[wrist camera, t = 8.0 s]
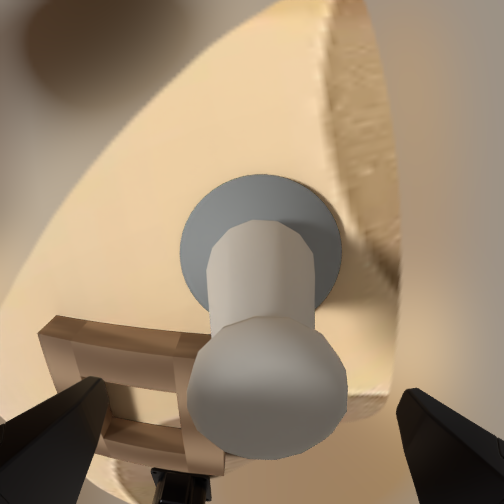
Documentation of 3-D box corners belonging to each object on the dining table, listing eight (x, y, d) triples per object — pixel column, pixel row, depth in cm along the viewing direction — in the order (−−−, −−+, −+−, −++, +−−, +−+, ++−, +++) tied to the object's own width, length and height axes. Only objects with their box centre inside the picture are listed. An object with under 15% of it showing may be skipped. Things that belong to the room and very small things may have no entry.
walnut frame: (225, 452, 25) (223, 476, 22) (92, 430, 25) (83, 449, 22) (226, 335, 21) (223, 361, 18) (56, 315, 21) (37, 333, 18)
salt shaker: (312, 216, 18) (419, 329, 6) (302, 304, 20) (353, 478, 7) (213, 209, 18) (134, 319, 6) (211, 299, 20) (165, 475, 7)
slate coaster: (327, 326, 21) (329, 331, 20) (183, 320, 21) (182, 324, 20) (347, 181, 18) (350, 182, 18) (182, 171, 18) (180, 171, 17)
